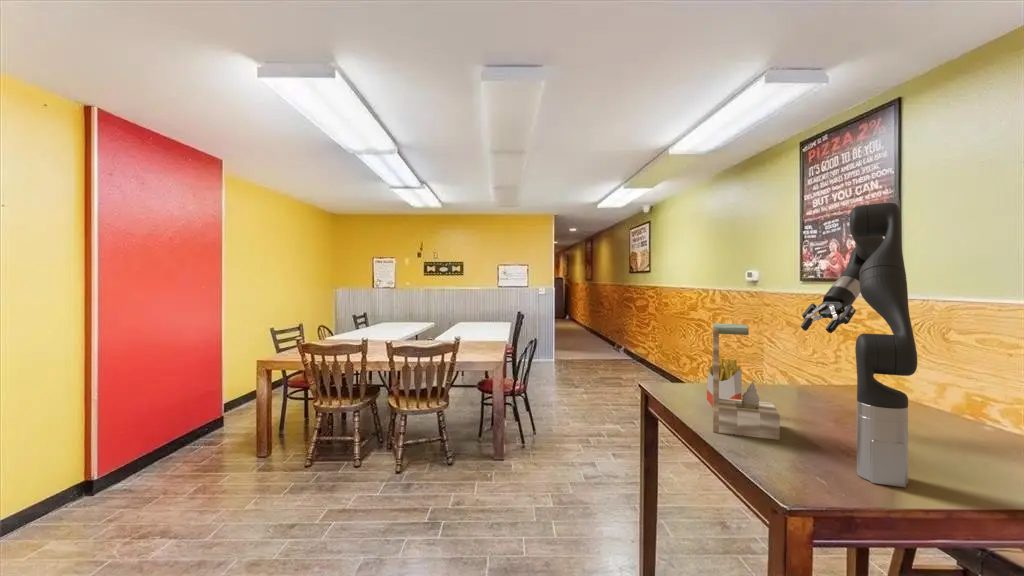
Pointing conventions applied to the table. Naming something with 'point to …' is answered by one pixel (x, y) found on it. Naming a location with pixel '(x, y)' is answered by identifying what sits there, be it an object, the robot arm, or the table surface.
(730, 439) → the table surface
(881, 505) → the table surface
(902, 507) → the table surface
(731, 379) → the french fries container
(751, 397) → the ice cream cone
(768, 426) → the cone stand
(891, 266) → the robot arm
